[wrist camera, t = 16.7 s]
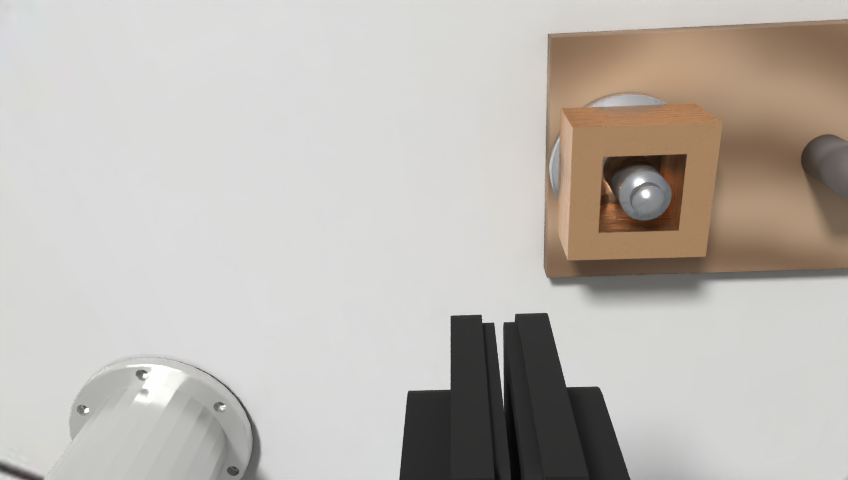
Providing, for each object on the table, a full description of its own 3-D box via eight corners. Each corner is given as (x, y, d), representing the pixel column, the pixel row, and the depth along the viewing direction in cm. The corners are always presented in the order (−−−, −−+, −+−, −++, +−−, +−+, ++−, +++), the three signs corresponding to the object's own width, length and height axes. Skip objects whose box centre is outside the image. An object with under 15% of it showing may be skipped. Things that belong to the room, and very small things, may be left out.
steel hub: (687, 226, 40) (726, 275, 35) (547, 231, 41) (563, 280, 35) (701, 88, 37) (747, 117, 31) (550, 95, 38) (568, 124, 32)
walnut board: (858, 256, 42) (919, 305, 37) (543, 266, 43) (557, 315, 38) (911, 16, 37) (992, 31, 31) (548, 34, 38) (564, 51, 32)
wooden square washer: (681, 226, 39) (705, 256, 36) (556, 230, 40) (567, 260, 36) (695, 103, 36) (722, 122, 33) (560, 108, 37) (572, 127, 33)
